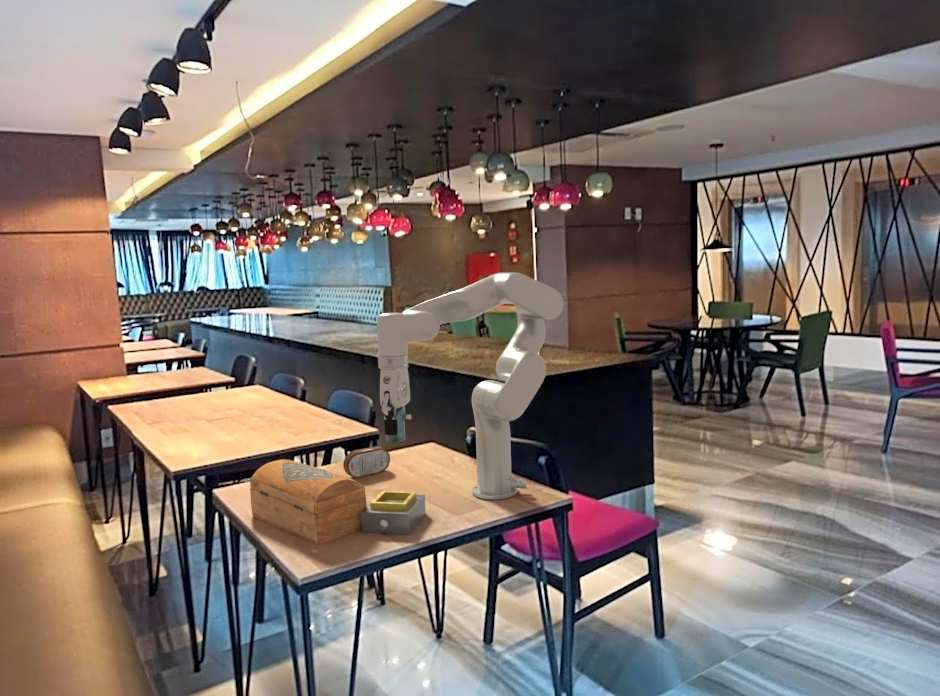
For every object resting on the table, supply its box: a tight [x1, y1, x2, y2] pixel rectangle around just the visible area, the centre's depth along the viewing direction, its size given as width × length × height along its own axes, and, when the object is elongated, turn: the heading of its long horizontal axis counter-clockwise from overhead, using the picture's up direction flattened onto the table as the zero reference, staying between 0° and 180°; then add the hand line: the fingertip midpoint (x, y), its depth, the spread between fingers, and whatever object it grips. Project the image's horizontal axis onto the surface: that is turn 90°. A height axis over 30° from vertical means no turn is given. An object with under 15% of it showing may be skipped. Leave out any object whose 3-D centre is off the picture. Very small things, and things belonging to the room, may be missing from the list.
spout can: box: [384, 408, 412, 444], centre depth 175 cm, size 7×5×8 cm
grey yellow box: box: [361, 490, 426, 535], centre depth 171 cm, size 12×16×6 cm
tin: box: [343, 445, 391, 479], centre depth 212 cm, size 15×3×8 cm, turn 125°
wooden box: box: [249, 458, 368, 546], centre depth 175 cm, size 30×16×14 cm, turn 46°
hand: (395, 431), depth 176 cm, fingers closed on spout can, 5 cm apart
